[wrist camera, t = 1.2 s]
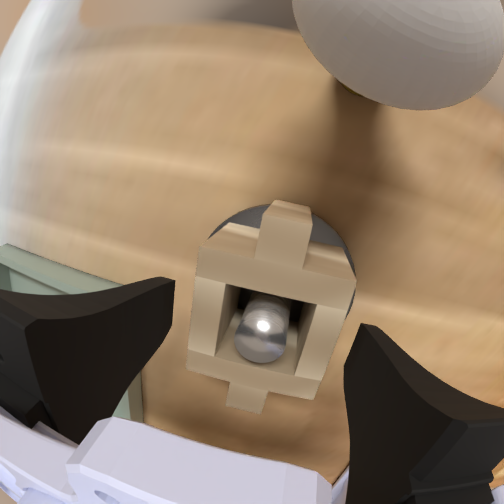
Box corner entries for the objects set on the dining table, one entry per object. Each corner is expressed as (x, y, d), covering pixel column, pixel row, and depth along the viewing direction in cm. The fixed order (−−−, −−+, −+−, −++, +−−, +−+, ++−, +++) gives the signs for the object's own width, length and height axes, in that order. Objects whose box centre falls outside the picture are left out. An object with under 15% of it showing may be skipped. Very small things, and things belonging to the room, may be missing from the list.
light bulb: (359, 159, 13) (466, 151, 4) (272, 69, 13) (216, -66, 3) (438, 90, 11) (573, 27, 2) (355, 6, 11) (394, -132, 1)
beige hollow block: (305, 365, 16) (303, 422, 12) (210, 343, 17) (184, 393, 12) (349, 216, 14) (369, 238, 9) (235, 191, 14) (205, 202, 10)
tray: (144, 430, 21) (134, 446, 19) (30, 371, 22) (18, 382, 20) (140, 290, 17) (123, 304, 15) (7, 243, 18) (-11, 250, 16)
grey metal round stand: (328, 362, 16) (332, 433, 11) (191, 330, 17) (152, 389, 12) (372, 225, 14) (408, 258, 9) (210, 189, 15) (161, 203, 10)
